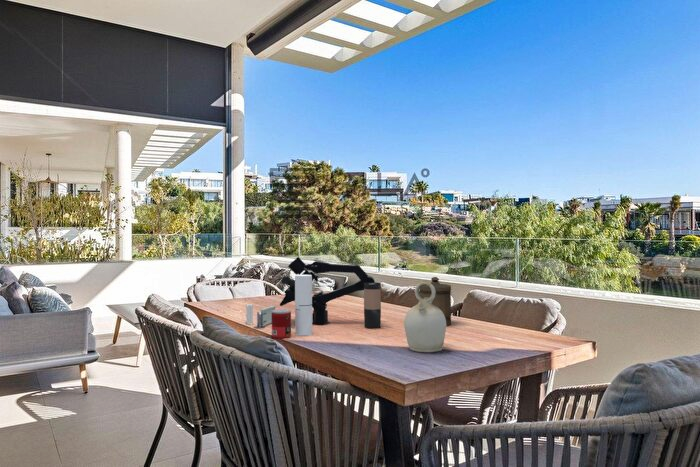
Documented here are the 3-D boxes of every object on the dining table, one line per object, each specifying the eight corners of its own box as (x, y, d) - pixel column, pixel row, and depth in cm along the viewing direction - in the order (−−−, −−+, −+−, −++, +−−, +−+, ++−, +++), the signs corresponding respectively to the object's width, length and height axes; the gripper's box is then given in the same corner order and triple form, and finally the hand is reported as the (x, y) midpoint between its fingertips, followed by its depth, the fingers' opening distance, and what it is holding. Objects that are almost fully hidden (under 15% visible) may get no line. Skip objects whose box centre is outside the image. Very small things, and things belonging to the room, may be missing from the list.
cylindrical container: (309, 336, 212) (309, 276, 212) (293, 335, 213) (292, 276, 213) (314, 332, 219) (313, 274, 219) (298, 332, 220) (297, 274, 220)
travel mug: (381, 325, 234) (381, 282, 234) (380, 329, 226) (380, 284, 226) (364, 325, 235) (364, 282, 234) (363, 328, 227) (363, 284, 227)
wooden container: (457, 324, 238) (457, 276, 238) (438, 328, 227) (438, 279, 227) (431, 320, 248) (431, 275, 248) (412, 324, 238) (412, 277, 238)
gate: (263, 325, 233) (263, 309, 233) (260, 325, 234) (260, 309, 233) (275, 320, 244) (275, 305, 244) (272, 320, 244) (272, 305, 244)
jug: (418, 342, 199) (417, 278, 199) (454, 348, 189) (453, 280, 189) (396, 349, 187) (395, 281, 187) (433, 356, 177) (432, 284, 177)
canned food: (289, 339, 207) (289, 312, 207) (270, 339, 207) (270, 312, 207) (292, 335, 214) (292, 309, 214) (273, 335, 215) (273, 309, 215)
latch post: (253, 323, 241) (253, 304, 241) (247, 324, 240) (247, 305, 240) (249, 321, 247) (249, 303, 247) (244, 322, 246) (244, 303, 246)
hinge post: (266, 327, 232) (266, 311, 232) (260, 328, 229) (260, 313, 229) (259, 326, 234) (259, 311, 234) (253, 328, 231) (253, 312, 231)
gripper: (293, 268, 250) (270, 291, 250) (288, 271, 231) (264, 296, 231) (309, 284, 250) (287, 307, 250) (306, 288, 231) (282, 313, 231)
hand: (280, 305), depth 241 cm, fingers closed
